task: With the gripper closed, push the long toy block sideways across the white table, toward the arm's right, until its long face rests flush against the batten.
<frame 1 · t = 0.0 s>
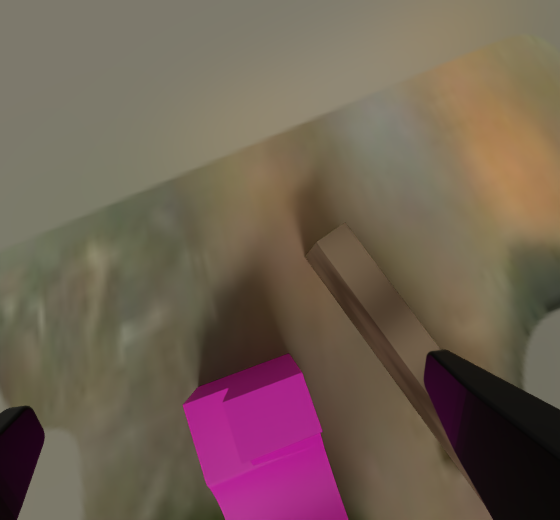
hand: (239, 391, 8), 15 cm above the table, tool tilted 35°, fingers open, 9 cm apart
batten: (413, 381, 23), on the table
toy block: (281, 483, 22), on the table
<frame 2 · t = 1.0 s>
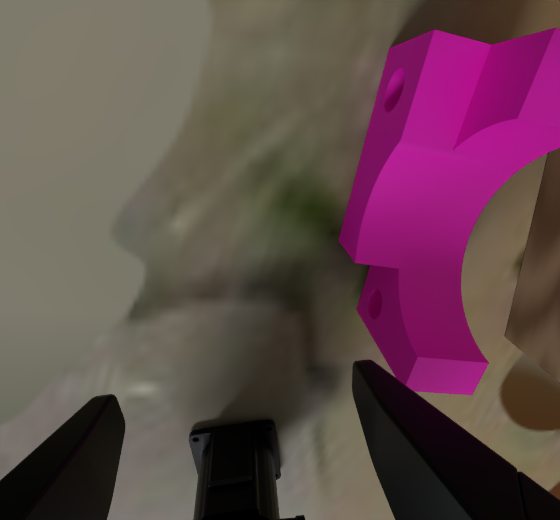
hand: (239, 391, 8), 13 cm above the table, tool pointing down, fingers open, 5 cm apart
batten: (554, 188, 21), on the table
toy block: (396, 202, 21), on the table
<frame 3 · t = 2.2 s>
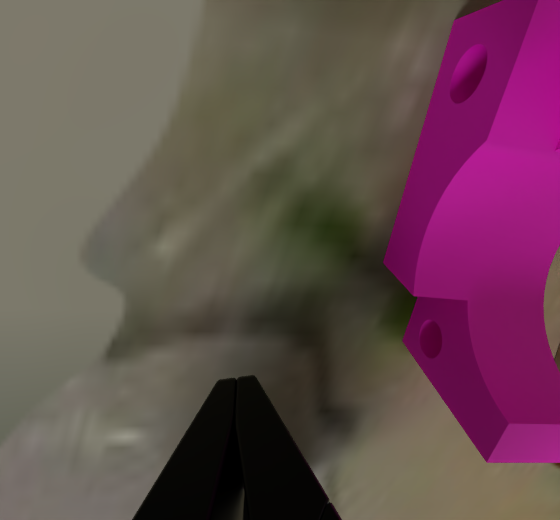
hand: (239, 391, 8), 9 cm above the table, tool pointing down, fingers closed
toy block: (453, 213, 17), on the table
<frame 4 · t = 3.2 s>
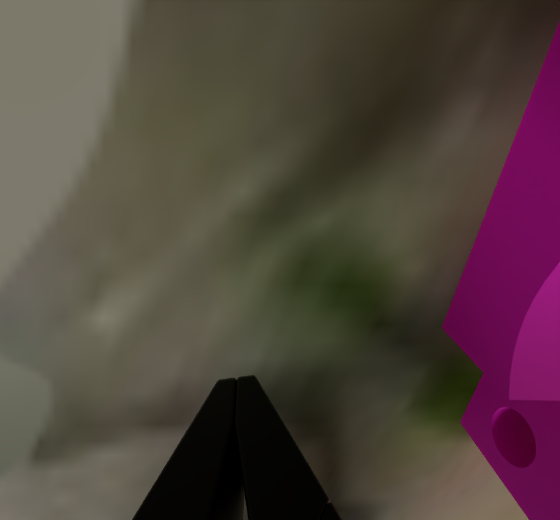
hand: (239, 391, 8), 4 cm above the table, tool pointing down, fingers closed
toy block: (542, 259, 12), on the table
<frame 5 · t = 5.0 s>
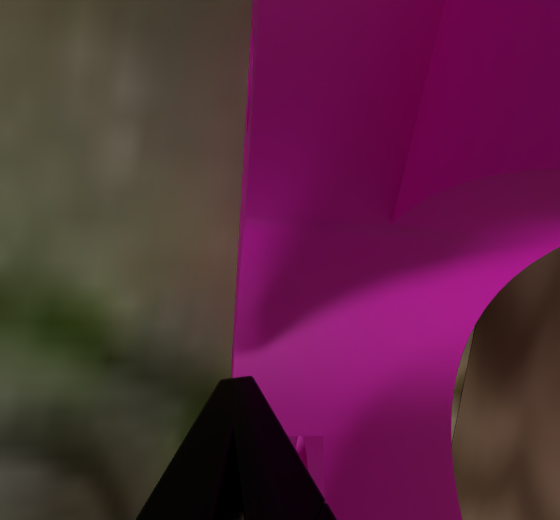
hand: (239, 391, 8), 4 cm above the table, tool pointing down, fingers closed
batten: (511, 280, 12), on the table
toy block: (328, 280, 12), on the table, touching gripper
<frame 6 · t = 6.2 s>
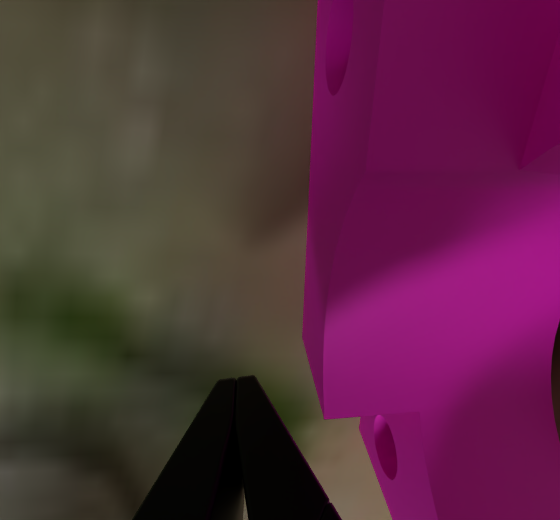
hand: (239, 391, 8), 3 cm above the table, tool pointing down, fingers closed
batten: (541, 268, 11), on the table
toy block: (398, 253, 11), on the table
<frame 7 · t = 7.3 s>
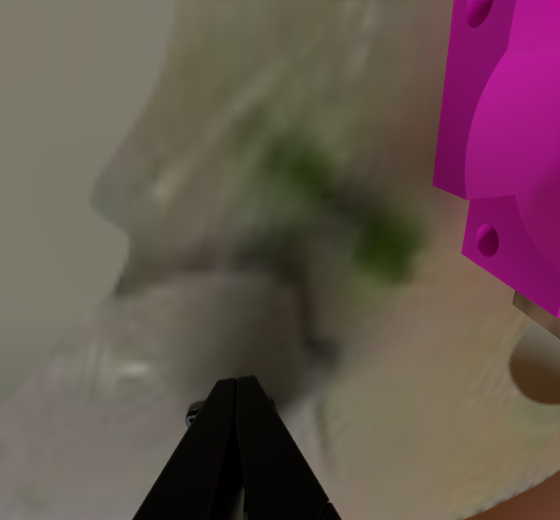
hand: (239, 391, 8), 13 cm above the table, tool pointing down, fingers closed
toy block: (487, 128, 19), on the table
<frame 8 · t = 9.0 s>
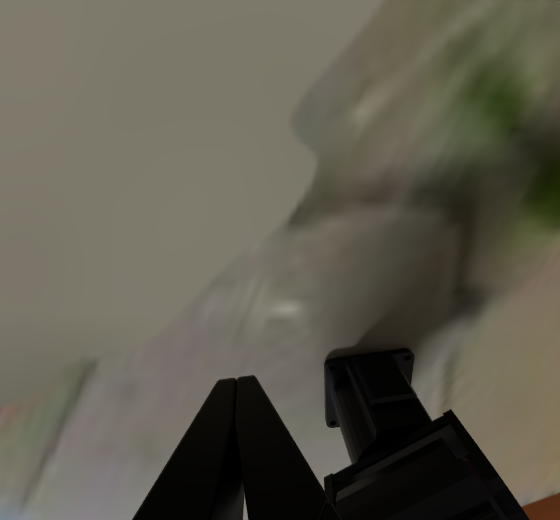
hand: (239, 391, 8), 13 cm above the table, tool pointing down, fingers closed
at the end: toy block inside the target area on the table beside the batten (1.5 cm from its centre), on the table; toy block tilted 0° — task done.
